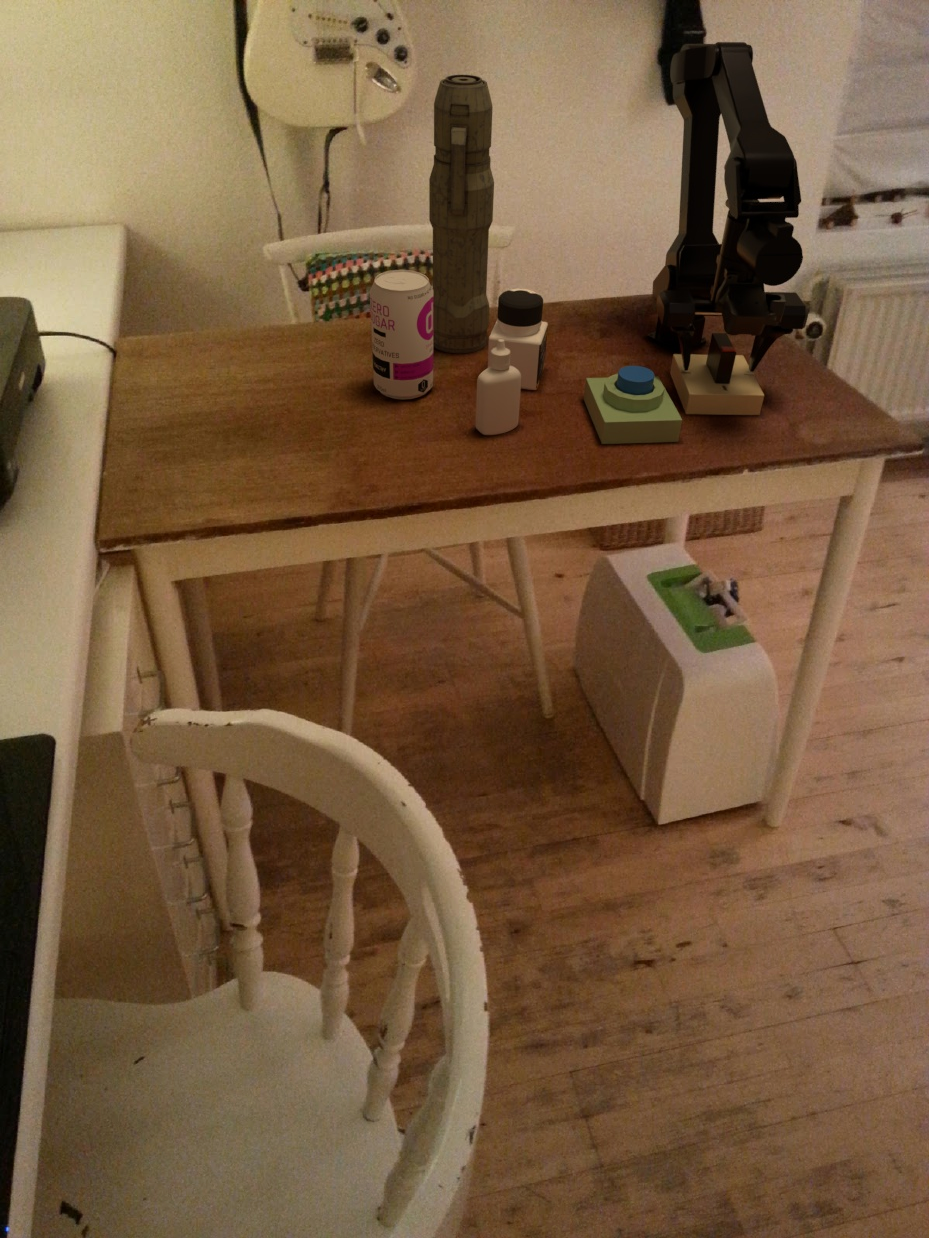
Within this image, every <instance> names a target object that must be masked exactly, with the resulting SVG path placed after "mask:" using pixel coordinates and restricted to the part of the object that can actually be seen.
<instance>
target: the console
mask: <svg viewBox="0 0 929 1238" xmlns="http://www.w3.org/2000/svg"><path fill="white" fill-rule="evenodd" d="M707 356H708V354H695V353H694V354H693V353H691V357H690V364H689V368H688V371H685V370H684V367H683V361H682V355H681V353H674V354H672V359H671V366H670V370H669V374H670V377H671V380H672V382H673V385H674V387H675V390H676V393H677V395H678V397H679V400H680V403H681V406H682V408H683V410H684V414H685V415H725V416H727V415H729V416H731V415H732V416H733V415H734V416H760V415H761V409H762V407H763V402H764V399H765V394H764V392H763V389H762V388H761V386H760V385H759V383H758V381H757V379H756V377H755V375H756V374H755V372H750V370H749V363H748V362H747V360H746V358H745V356H744V355H743V354H736V357H735V361H734V366H733V370H732V375H731V379H730V383H729V384H726V383H715V382H714V380H713V378H712V375H711V373H710V371H709V369H708V367H707V364H706V361H707Z"/></svg>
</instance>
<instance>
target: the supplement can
mask: <svg viewBox="0 0 929 1238" xmlns="http://www.w3.org/2000/svg"><path fill="white" fill-rule="evenodd" d="M369 300H370V301H369V303H370V307H369V308H370V326H371V327H370V328H371V331H370V332H371V349H372V350H371V352H372V373H373V374H372V376H373V386H374V387H375V390H377V391H379V392H380V394H382V395H383V396H385V397H387V398H391V399H394V400H412V399H416V398H420V397H423V396H424V395H426V394H427V393H428V392H429V391H430V390H431V389H432V388H433V386H434V347H433V286H432V285H431V282H430V279H429V277H428V276H427V275H425V274H423V273H422V272H420V271H416V270H408V269H392V270H387V271H383V272H381V273H379V274H377V275H376V276H375V277H374V280H373V283H372V286H371V288H370V290H369Z"/></svg>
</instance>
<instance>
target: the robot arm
mask: <svg viewBox="0 0 929 1238" xmlns="http://www.w3.org/2000/svg"><path fill="white" fill-rule="evenodd" d="M753 60H754V50H753V46H752V44H747V42H744V41H717V42H715V43H683V45H682V46H681V48H680V50H679V51H678V52H676V53H674V54H673V56H672V59H671V62H670V68H669V69H670V70H669V75H670V82H671V84H672V99H673V102H674V105H675V106H676V108H677V109H678V112H679V113H680V116H681V118H682V120H683V135H682V153H681V154H682V155H681V157H682V158H681V174H680V175H681V176H680V192H679V193H680V197H679V213H678V214H679V216H678V231H677V232H678V233H677V235H676V237H675V238H674V240H673V242H672V244H671V245H670V247H669V248H668V250H667V252H666V255H665V261H664V266H663V267H662V269H661V270H660V271H659V273H658V274H657V275H656V277H655V278H654V279H653V281H652V292H651V293H652V294H651V295H652V296H651V297H652V298H653V299H654V301H655V302H656V304H655V311H656V314H657V319H656V327H655V331H654V332H650V333H648V334H647V339H648V340H651V341H653V342H655V343H657V344H659V345H660V346H662V347H664V348H666V349H668V350H669V351H670V350H671V351H673V352H674V353H680V354H681V355H682V361H683V367H684V370H685V371H688V368H689V364H690V357H691V354H692V349H693V348H696V347H699V346H701V345H704V344H706V343H707V339H706V338H704V337H703V334H704V330H705V323H706V317H722V322H723V330H724V333H727V335H728V336H738V335H751V336H753V337H754V340H753V344H752V346H751V347H752V348H751V352H750V356H749V361H748V362H749V363H748V365H749V370H750V372H752V373H754V371H755V370H756V369H757V367H758V365H759V364H760V363H761V361H762V359H763V358H764V357H765V355H766V354H767V352H768V351H769V349H770V348H771V347H772V345H773V344H774V343H775V342H776V341H777V340H778V339H779V338H781V337H783V336H785V335H791V334H792V333H793V332H794V330H804V329H805V328H806V325H807V322H808V318H809V309H808V307H807V306H806V304H805V303H804V301H803V300H802V298H801V297H800V296H799V294H798V293H797V292H792V291H791V292H790V291H789V292H788V291H787V292H785V291H784V292H783V291H766V290H765V286H771V287H775V286H780V285H783V284H785V283H788V282H789V281H790V280H791V279H793V277H795V275H796V274H797V273H798V271H799V270H800V268H801V266H802V263H803V260H804V255H803V248H802V246H801V244H800V242H799V240H797V239H796V238H795V237H794V236H793V234H794V231H795V226H794V224H792V223H791V222H788V221H787V220H786V219H796V218H798V217H799V215H800V209H799V208H800V207H799V205H800V204H801V203H802V196H801V195H802V194H801V187H800V180H799V179H800V178H799V172H798V162H797V159H796V158H795V155H794V152H793V150H792V148H791V146H790V144H789V141H788V139H787V138H786V136H785V134H782V133H781V132H779V131H778V130H777V129H775V128H774V127H773V126H772V125H771V123H770V121H769V118H768V117H769V116H768V113H767V111H766V107H765V104H764V100H763V97H762V93H761V89H760V87H759V83H758V78H757V76H756V73H755V69H754V65H753V62H754V61H753ZM721 117H722V122H723V125H724V128H725V132H726V136H727V140H728V144H729V150H730V151H729V154H728V156H727V159H726V161H725V164H724V167H723V168H724V169H723V170H724V176H723V177H724V178H723V181H724V187H725V192H726V197H727V198H726V200H725V203H724V204H725V207H726V208H728V211H727V215H726V218H725V225H724V229H723V234H722V239H721V243H719V241H718V239H717V237H716V235H715V233H714V218H715V217H714V216H715V202H716V201H715V199H716V185H717V184H716V183H717V166H718V149H719V134H720V119H721ZM781 198H783V201H760V200H780V199H781ZM705 316H706V317H705Z"/></svg>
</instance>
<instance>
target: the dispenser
mask: <svg viewBox="0 0 929 1238" xmlns="http://www.w3.org/2000/svg"><path fill="white" fill-rule="evenodd" d="M617 378H618V373H615V374H612V375H610V376H608V377H585V381H584V382H585V383H584V392H583V394H584V395H583V401H584V404H585V407H586V409H587V411H588V414H589V416H590V419H591V421H592V423H593V426H594V428H595V432H596V434H597V436H598V438H599V441H600V443H601V445H615V444H616V445H618V444H619V445H620V444H648V443H649V444H650V443H678V442H679V440H680V435H681V430H682V424H683V419H682V417H681V414H680V413H679V411H678V409H677V407H676V406H675V404H674V402H673V400H672V398H671V396H670V395H669V393H668V392H667V390H666V387H665V386H664V384H663V382H662V380H661V379H660V377H659V376H658V375H657V376H655V375H654V382H653V388H652V392H651V393H649V394H646V395H631V394H626V393H623V392H621V391H620V390H618V389H617V387H616V386H617Z"/></svg>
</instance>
